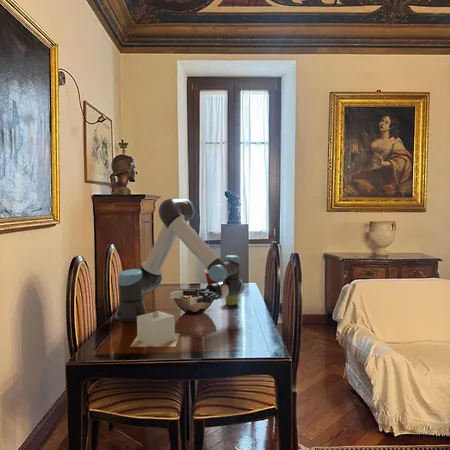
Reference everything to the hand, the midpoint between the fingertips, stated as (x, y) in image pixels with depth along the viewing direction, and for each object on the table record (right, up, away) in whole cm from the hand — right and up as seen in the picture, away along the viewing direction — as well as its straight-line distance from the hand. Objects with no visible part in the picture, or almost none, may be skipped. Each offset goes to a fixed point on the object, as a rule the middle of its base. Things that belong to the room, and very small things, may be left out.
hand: (180, 298), depth 191 cm
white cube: (-9, -16, -8) cm, 20 cm away
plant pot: (+23, -12, +54) cm, 60 cm away
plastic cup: (+12, -9, +93) cm, 95 cm away
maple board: (-9, -17, -8) cm, 21 cm away
